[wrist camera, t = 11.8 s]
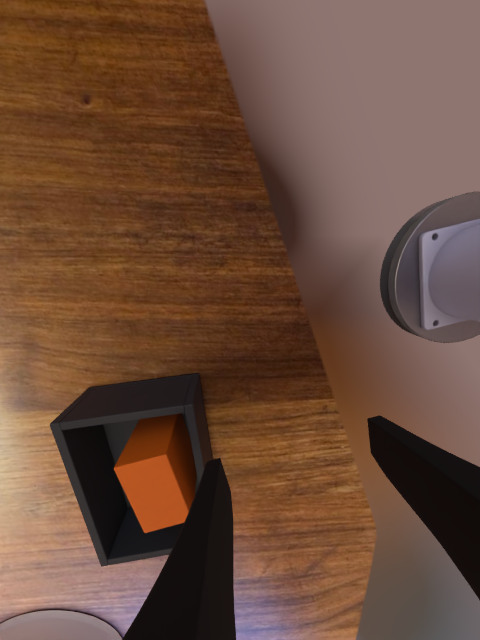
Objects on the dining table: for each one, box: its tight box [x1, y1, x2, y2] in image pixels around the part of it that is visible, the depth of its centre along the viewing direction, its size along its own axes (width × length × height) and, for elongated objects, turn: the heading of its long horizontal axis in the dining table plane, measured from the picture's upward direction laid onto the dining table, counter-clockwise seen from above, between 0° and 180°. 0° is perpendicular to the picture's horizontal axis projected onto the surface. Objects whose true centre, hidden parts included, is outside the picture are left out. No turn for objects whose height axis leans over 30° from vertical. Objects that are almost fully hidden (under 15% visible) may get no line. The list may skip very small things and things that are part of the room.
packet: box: [114, 413, 197, 533], centre depth 18 cm, size 4×6×5 cm, turn 13°
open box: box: [50, 373, 213, 566], centre depth 18 cm, size 9×13×4 cm
